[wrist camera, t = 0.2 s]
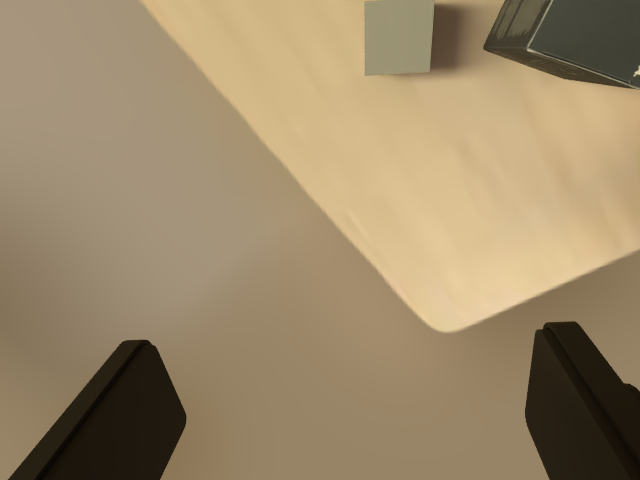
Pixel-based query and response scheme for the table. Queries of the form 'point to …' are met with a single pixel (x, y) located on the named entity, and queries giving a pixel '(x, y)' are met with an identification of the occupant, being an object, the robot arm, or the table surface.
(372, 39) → the slate cube
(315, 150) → the table surface
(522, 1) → the box
